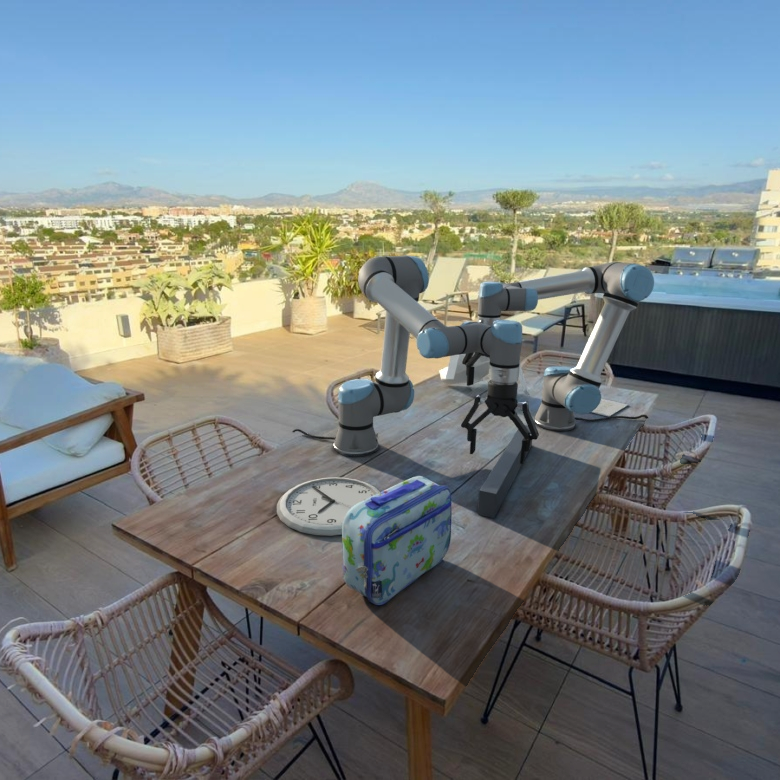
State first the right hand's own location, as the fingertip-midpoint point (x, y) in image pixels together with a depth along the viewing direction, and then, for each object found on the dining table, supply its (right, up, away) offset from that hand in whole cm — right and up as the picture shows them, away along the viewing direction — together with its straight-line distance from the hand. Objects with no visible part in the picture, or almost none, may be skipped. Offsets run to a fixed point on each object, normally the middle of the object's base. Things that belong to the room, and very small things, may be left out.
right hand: (484, 389), depth 181 cm
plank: (+4, -27, -19) cm, 33 cm away
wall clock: (-48, -32, -38) cm, 70 cm away
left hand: (-4, -18, -41) cm, 45 cm away
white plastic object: (+9, -1, +62) cm, 63 cm away
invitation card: (+59, -7, +45) cm, 74 cm away
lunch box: (-31, -41, -67) cm, 85 cm away
